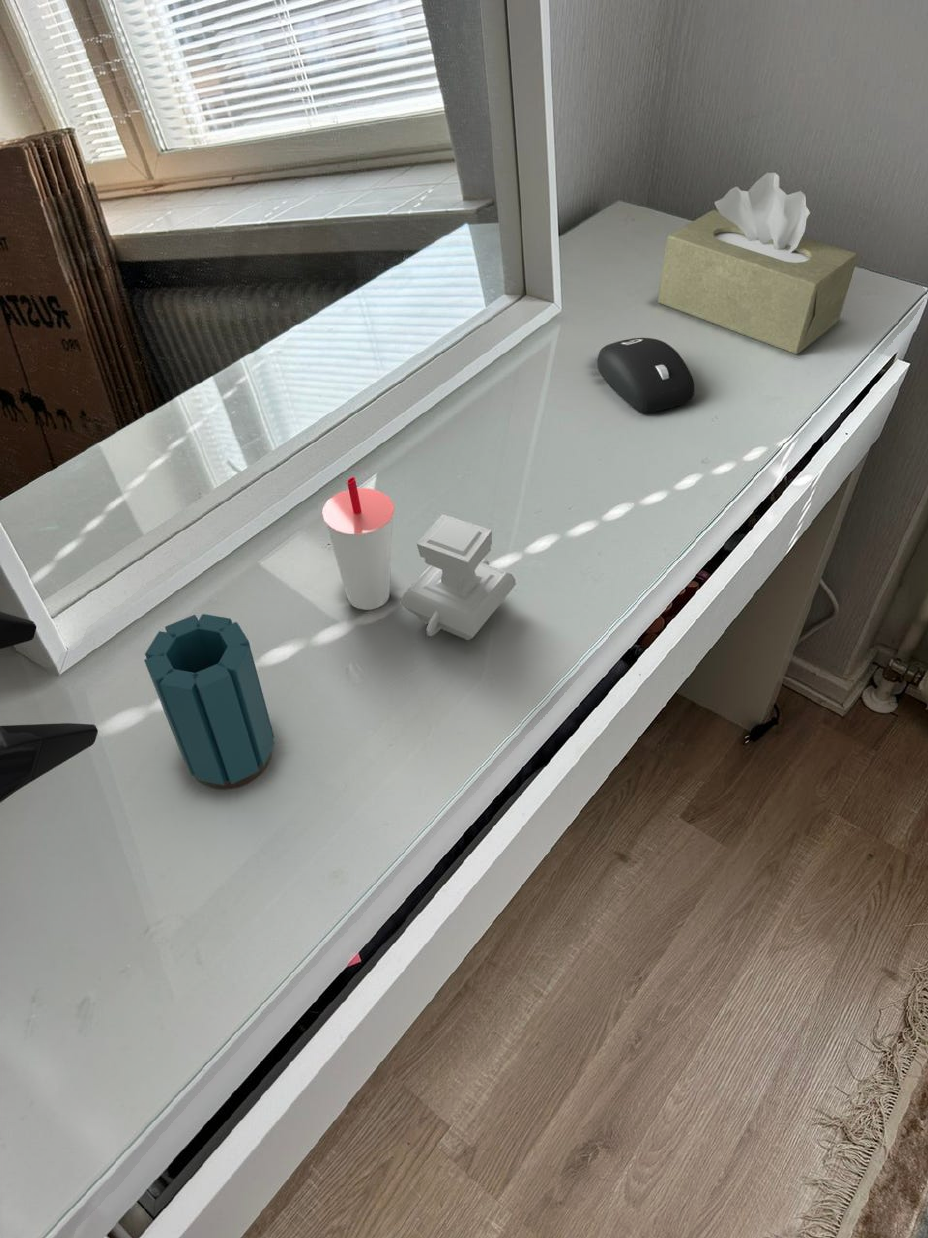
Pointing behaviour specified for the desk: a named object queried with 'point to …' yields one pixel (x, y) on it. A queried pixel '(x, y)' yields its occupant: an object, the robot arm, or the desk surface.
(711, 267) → the tissue box
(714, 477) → the desk surface
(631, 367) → the computer mouse
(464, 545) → the stamp
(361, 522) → the cup
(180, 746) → the sleeve
